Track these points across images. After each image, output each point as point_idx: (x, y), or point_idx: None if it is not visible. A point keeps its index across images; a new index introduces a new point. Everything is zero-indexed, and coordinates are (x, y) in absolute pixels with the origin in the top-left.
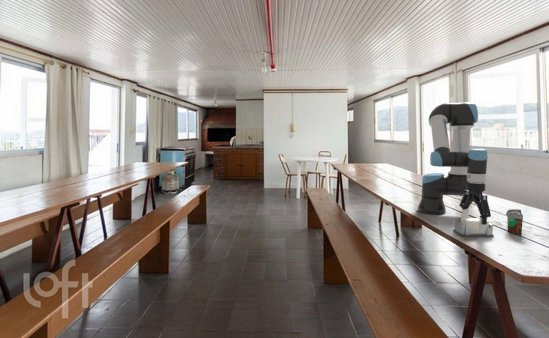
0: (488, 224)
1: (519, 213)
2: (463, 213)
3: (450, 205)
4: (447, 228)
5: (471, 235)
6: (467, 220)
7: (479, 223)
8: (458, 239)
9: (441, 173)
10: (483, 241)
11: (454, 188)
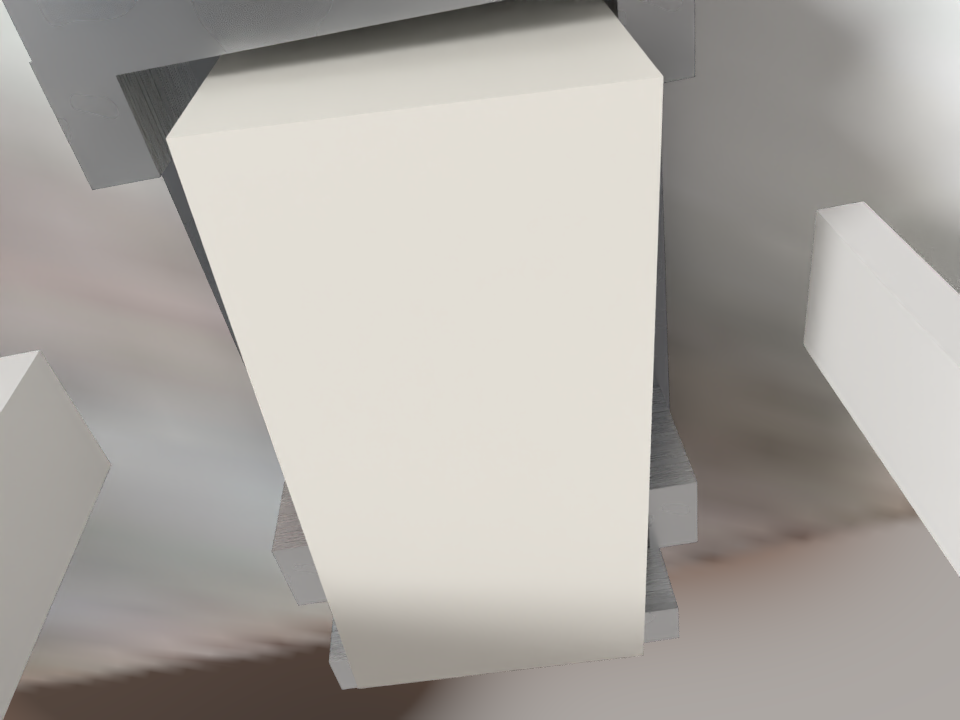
0: (626, 49)
1: None
2: (6, 680)
3: None
4: (176, 539)
5: (664, 354)
6: (582, 629)
7: (907, 477)
8: (771, 528)
9: None
10: (922, 218)
11: None
